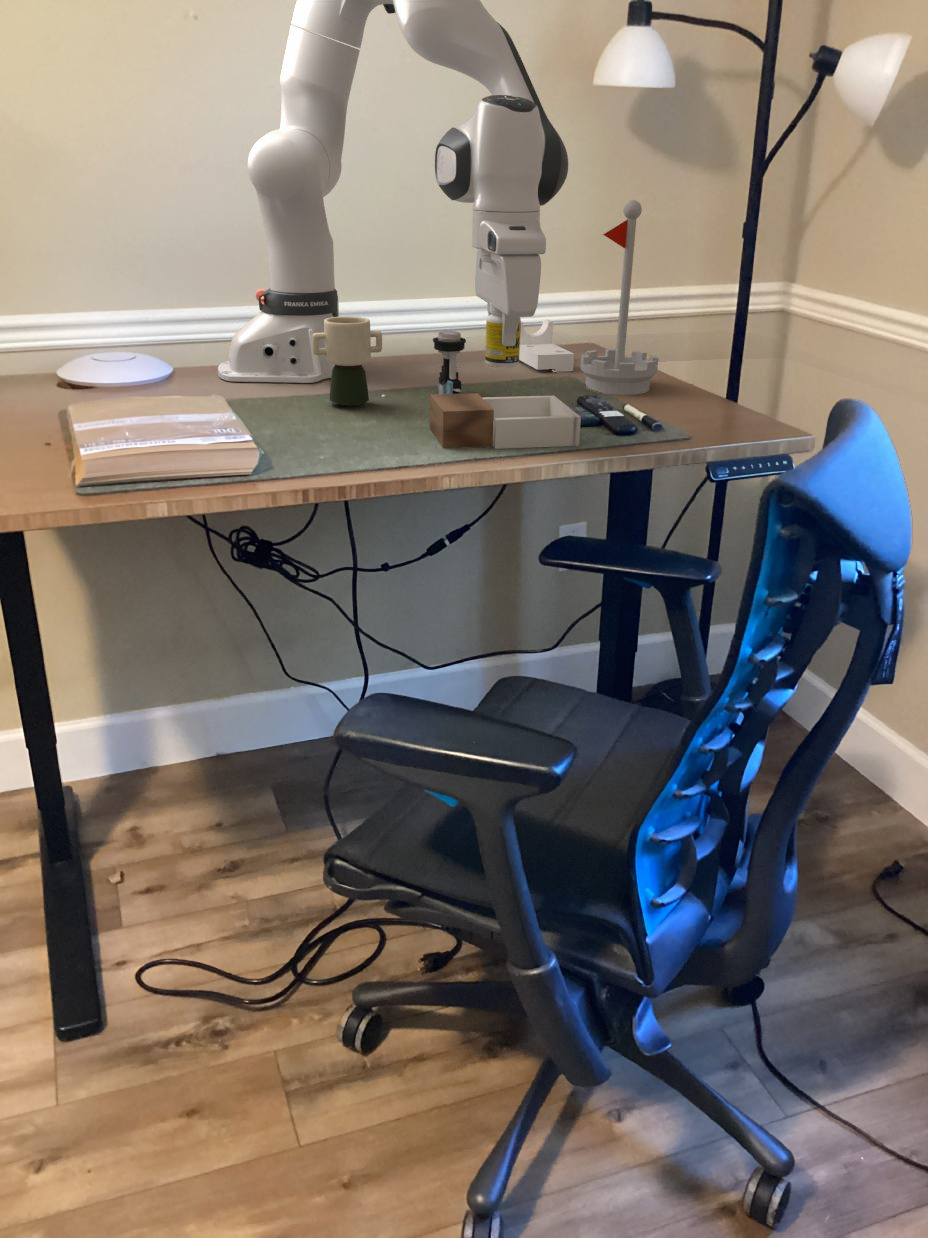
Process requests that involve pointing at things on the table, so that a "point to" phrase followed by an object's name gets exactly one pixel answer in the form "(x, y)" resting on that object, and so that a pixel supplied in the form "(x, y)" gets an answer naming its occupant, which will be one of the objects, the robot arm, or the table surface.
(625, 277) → the flag stand
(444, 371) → the push button
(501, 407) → the grey tray
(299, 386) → the table surface
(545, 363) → the bracket
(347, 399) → the cream and green trophy
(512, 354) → the supplement bottle
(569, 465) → the table surface
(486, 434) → the walnut step
